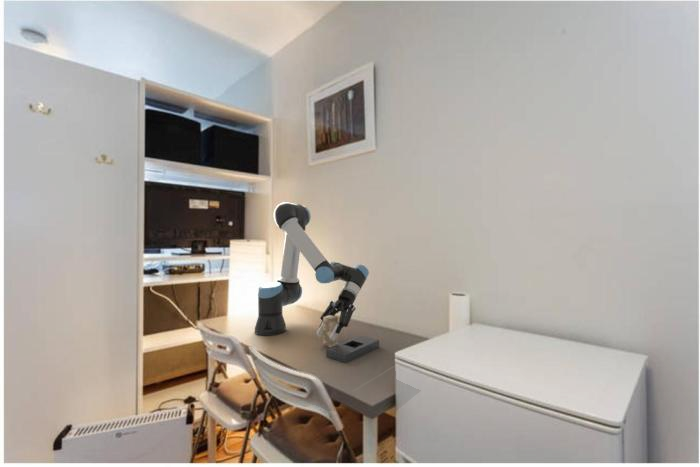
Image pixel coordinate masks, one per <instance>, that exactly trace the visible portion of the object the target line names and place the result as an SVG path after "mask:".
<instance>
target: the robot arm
mask: <svg viewBox="0 0 700 467" xmlns="http://www.w3.org/2000/svg"><path fill="white" fill-rule="evenodd" d="M311 217H312V216H311V213H310V210H309V208H308V207H307V206H305V205H303V204H300V203H291V202H287V201H286V202H281V203H279V204H277V206H276V207H275V208H274V211H273V219H274V222H275V223H276V224H275V225H277V227H278V228H279V229H280V231H282V232H284V233H285V234H284V235H285V238H284V245H283V254H282V261H281V262H282V263H281V271H280V276H279V277H278V278H277V282H276V281H275V282H266V283H263V284H262V285H260V286H259V288H258V294H257V296H258V298H257V300H258V302H257V303H258V312H257V313H258V317H257V319H256V322H255V323H256V324H255V326H254V334H256V333H257V334H256V335H258V334H260V335H259V336H274V335H275V336H276V335H280V334H283V333H286V331H287V324H286V322H285V318H284V316H283V307H285V306H288V305H293V304H295V303H297V302H298V301H299V300H300V299H301V298H302V294H303V287H302V286H301V284H300V279H299V278H298V271H299V270H298V269H299V263H300V262H299V261H300V253H301V254H302V255H303V257H304V258H305V259H306V262H308V264H309V265H310V266H311V267H312V269H313V270H314V272H315V279H316V281H317V282H318V283H319V284H330V283H333V282H336V281H339V280H340V281H342V282H345V283H344V285H343V287H342V290H340V293H339V294H338V297H337V300H335V301H333V300H330V301H329V305H328V306H327V307H326V308H325V310H324V312H323V313H322V314H321V316H320V320H321V323H320V324H319V326H318V328H317V329H318V330H317V331H316V333H315V334H316V336H318V337H319V338H321V337H322V336H323V317H326V316H329V315H332V316H336V314H338V313H340V315H339V316H340V317H339V320H338V324H336V326H335V328H334V330H333V332H332V334H331V335H330V339H331V340H332V341H334V340H335V338H336V336H337V334H340V333H341V332H342V329H343V328H347V327H348V326H349V324H350V322H351V318H352V316H353V313H354V312H355V310H356V307H355V304H354V303H355V301H356V299H357V297H358V295H359V293H360V291H361V289H362V288H363V286H364V284H365V282H366V281H367V280H368V276H369V273H370V271H369V269H368V268H367V267H366V266H365V265H362V264H357V265H355V266H354V267H353V266H349V265H345V264H342V263H340V262H335V261H332V262H329V261H328V260H327V258H326V257H325V255H324V254H323V253H322V252H321V250H320V249H319V248H318V246H317V245H316V244H315V243H314V242H313V240H312V239H311V238H310V237H309V235H308V234H307V233H306V226H307V225H308V224H309V223H310V221H311Z"/></svg>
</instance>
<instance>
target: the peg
mask: <svg viewBox="0 0 700 467" xmlns="http://www.w3.org/2000/svg"><path fill="white" fill-rule="evenodd" d="M338 318H339V317H338V316H336V315H334V316H332V315H329V316H326V317H323V334H322V339H323V340H322V342H323V343H322V346H326V347H327V348H330V347H332V346H335V345H337V344H339V342H338V339H339V337H338V334H337V336H336V338H335V340H334V341H332V340H331V339H330V335H331V334H332V332H333V330H334V328H335V326H336V324H338V322H339V320H338ZM338 325H339V324H338Z"/></svg>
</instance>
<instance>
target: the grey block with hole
mask: <svg viewBox="0 0 700 467" xmlns="http://www.w3.org/2000/svg"><path fill="white" fill-rule="evenodd" d="M379 348H380V339H377V338H373V337H369V336H366V335H358V336H355V337H352V338H351V339H347V340H345V341H343V342H340V343H338V344H337V345H335V346H332V347H327V348H325V356H326V357H327V358H330V359H331V360H336V361H339V362H341V363H345V364H347V363H348V362H351V361H353V360H355V359H357V358H359V357H362V356H364V355H366V354H367V353H370V352H372V351H373V350H376V349H379Z"/></svg>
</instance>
